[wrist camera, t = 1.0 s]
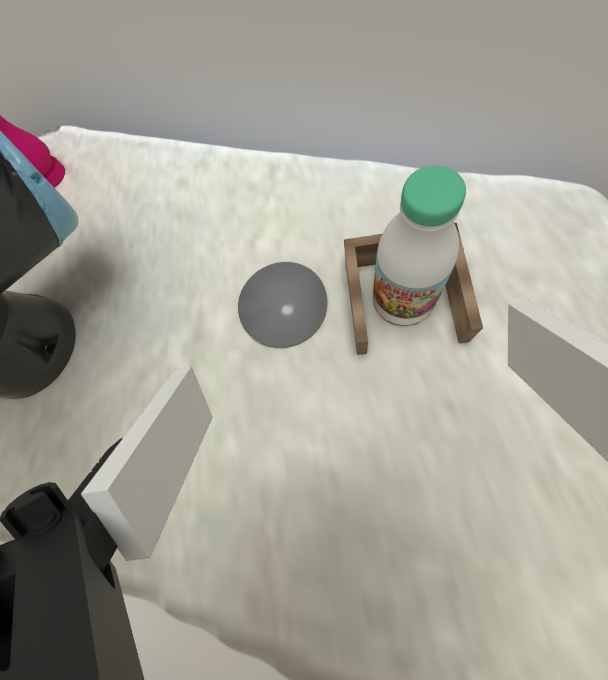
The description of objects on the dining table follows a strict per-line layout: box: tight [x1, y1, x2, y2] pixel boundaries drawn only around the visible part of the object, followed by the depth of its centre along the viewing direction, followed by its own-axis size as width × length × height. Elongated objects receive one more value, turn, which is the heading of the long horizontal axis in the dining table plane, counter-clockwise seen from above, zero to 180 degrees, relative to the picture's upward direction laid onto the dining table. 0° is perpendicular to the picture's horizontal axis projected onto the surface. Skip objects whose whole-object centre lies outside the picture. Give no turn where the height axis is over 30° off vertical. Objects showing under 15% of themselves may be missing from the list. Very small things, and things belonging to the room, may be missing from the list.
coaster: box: [238, 262, 327, 348], centre depth 47 cm, size 12×12×1 cm
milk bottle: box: [373, 166, 466, 325], centre depth 35 cm, size 8×8×20 cm
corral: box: [344, 223, 483, 354], centre depth 42 cm, size 13×13×5 cm
